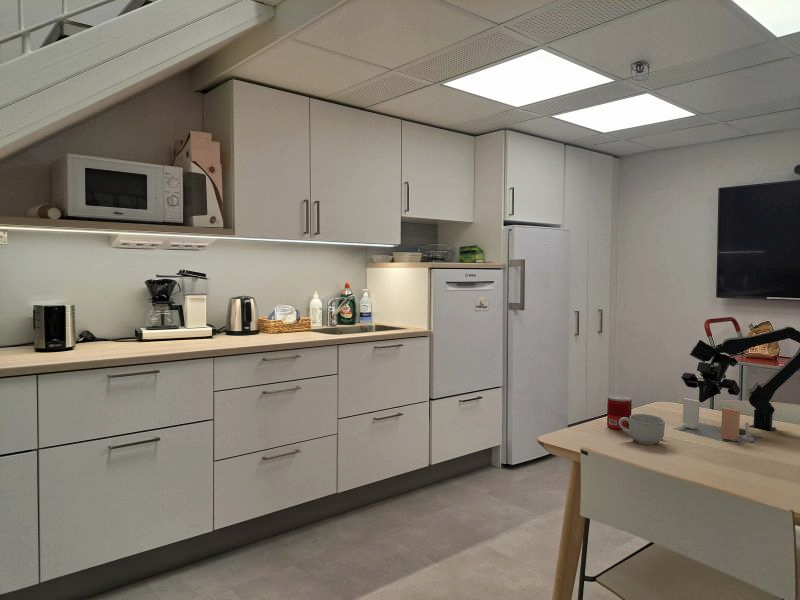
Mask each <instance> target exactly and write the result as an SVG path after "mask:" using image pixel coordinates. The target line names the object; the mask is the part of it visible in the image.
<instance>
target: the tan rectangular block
mask: <svg viewBox="0 0 800 600" xmlns="http://www.w3.org/2000/svg"><path fill="white" fill-rule="evenodd" d="M740 419H741V410H739V409H734V408H729V407H722V409H721V427H720V428H721V435H722V436H721V438H724V439H728V440H732V441H735V440H738V439H739V428H740V421H741V420H740Z"/></svg>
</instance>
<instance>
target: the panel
mask: <svg viewBox="0 0 800 600" xmlns="http://www.w3.org/2000/svg"><path fill="white" fill-rule="evenodd" d="M749 426H750V423H749V421H745V422H744V427H745V429H744V428H741V427H739V439H738V440H735V441H732V440H728V439H724V438H721V436H722V435H721V427H719V426H715V425H711V424H710V425H709V424H706V423H702V422H699V427H698V428H696V429H691V428H687V427H683V425H682V426H678V427H674V428H672V430H675V431H680V432H684V433H687V434H692V435H695V436H701V437H703V438H708V439H713V440H716V441H721V442H724V443H729V444H733V445H737V446H741V445H744V444H747V443H752V442H754V441H756V440H760V439H762V438H763V436H758V435H754V434H751V431H750V430H751V429H750V428H751V427H749ZM763 439H764V438H763Z"/></svg>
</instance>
